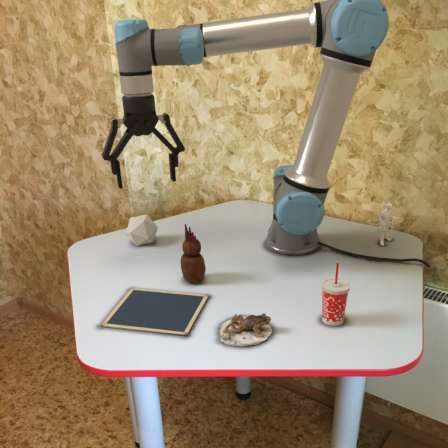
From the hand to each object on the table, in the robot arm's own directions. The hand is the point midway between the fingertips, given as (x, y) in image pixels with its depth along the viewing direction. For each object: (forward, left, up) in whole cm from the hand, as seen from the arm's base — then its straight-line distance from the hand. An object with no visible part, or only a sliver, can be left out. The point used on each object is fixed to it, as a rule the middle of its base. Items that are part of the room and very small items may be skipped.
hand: (147, 183), depth 134 cm
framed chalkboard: (-9, +23, -23) cm, 34 cm away
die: (+9, -14, -23) cm, 29 cm away
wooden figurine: (-13, +7, -23) cm, 27 cm away
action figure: (-61, -27, -23) cm, 71 cm away
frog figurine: (-31, +28, -23) cm, 47 cm away
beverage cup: (-49, +20, -23) cm, 57 cm away
